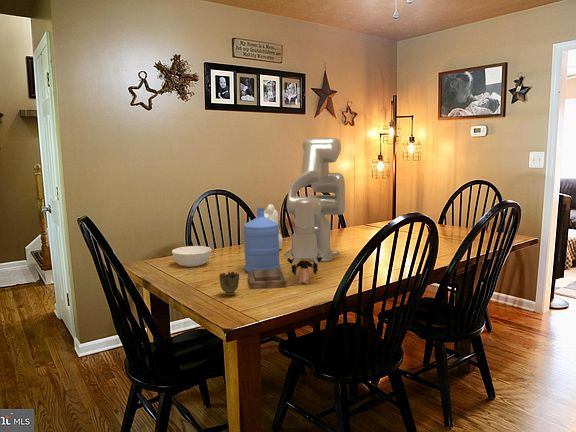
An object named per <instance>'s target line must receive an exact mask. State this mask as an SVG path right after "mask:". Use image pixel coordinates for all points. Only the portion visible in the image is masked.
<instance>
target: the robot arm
mask: <svg viewBox="0 0 576 432" xmlns="http://www.w3.org/2000/svg"><path fill="white" fill-rule="evenodd" d="M302 149H303V155H302V164H301V171H300V174H299V176H297V177H296V178H295V179H294V180H293V181H292V183H291V184H290V186H289V188H288V192H287V198H286V199H287V200H286V209H287V210H286V211H287V213H288V214H289V215H292V216H293V215H294V233H292V237H291V247H290V250H288V251H287V252H285V253H284V254H283V256H284V258H285V259H286V260H287V263H290V264H291V273H292V274H293V275H294V276H296V275H297V270H296V265H297V261H298V260H301V259H307V260H309V261H310V262H311V261H312V262H313V263H312V264H313V268H314V270H312V272H313V274H314V275H317V272H318V271H319V270H318V265H319V263H320V262H322V263H325V262H330V261H333V260H334V256H340V255H341V251H340V250H337V251H336V250H332V249H331V223H330V221H329V220H330V219H328V217H327V216H340V215H343V214H344V213H345V211H346V183H345V177H344V175H343V174H342V173H340V172H330V170H329V166H330V165H329V163H330V164H331V163H335V162H337V160H338V158H339V156H340V155H341V151H342V144H341V141H340V139H339V138H338V137H311V138H306V139H304V140H303V141H302ZM309 185H311V190H312V191H313V192H315V193H320V194H315V195H312V196H296V195H297V193H298V192H299V191H301V190H302V189H304V188H305V187H307V186H309ZM321 193H322V194H321ZM329 193H330V194H329ZM331 193H332V194H331ZM290 255H291V257H292V259H291V258H290Z"/></svg>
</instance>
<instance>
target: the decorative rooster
mask: <svg viewBox="0 0 576 432" xmlns="http://www.w3.org/2000/svg"><path fill="white" fill-rule="evenodd" d="M264 217H265V218H267V219H269V220H272V221H274V222H276V223H278V227H279V213H278V211H277V210H276V209H275V205H274V204H271V203H270V204H268V205H267V207H266V209H265V210H264ZM279 228H280V227H279ZM283 244H284V238H283V237H282V235H281V230H280V229H279V250H280V249H282V247H283Z"/></svg>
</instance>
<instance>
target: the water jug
mask: <svg viewBox="0 0 576 432" xmlns="http://www.w3.org/2000/svg"><path fill="white" fill-rule="evenodd" d="M264 209H265V207H257V208H256V210H257V212H256V213H257V215H256V217H255V218H253V219H252V220H250V221H248V222H246V223H245V224H243V239H244V242H243V243H244V244H243V245H244V249H243V251H244V270H245V272H247V273H248V272H253V270H260V269H277V270H278V271H280V269H281V264H280V249H279V230H280V227H278V224H279V222H278V223H276V222H274V221H272V220H269V219H267V218H265V217H264V211H265V210H264Z"/></svg>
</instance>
